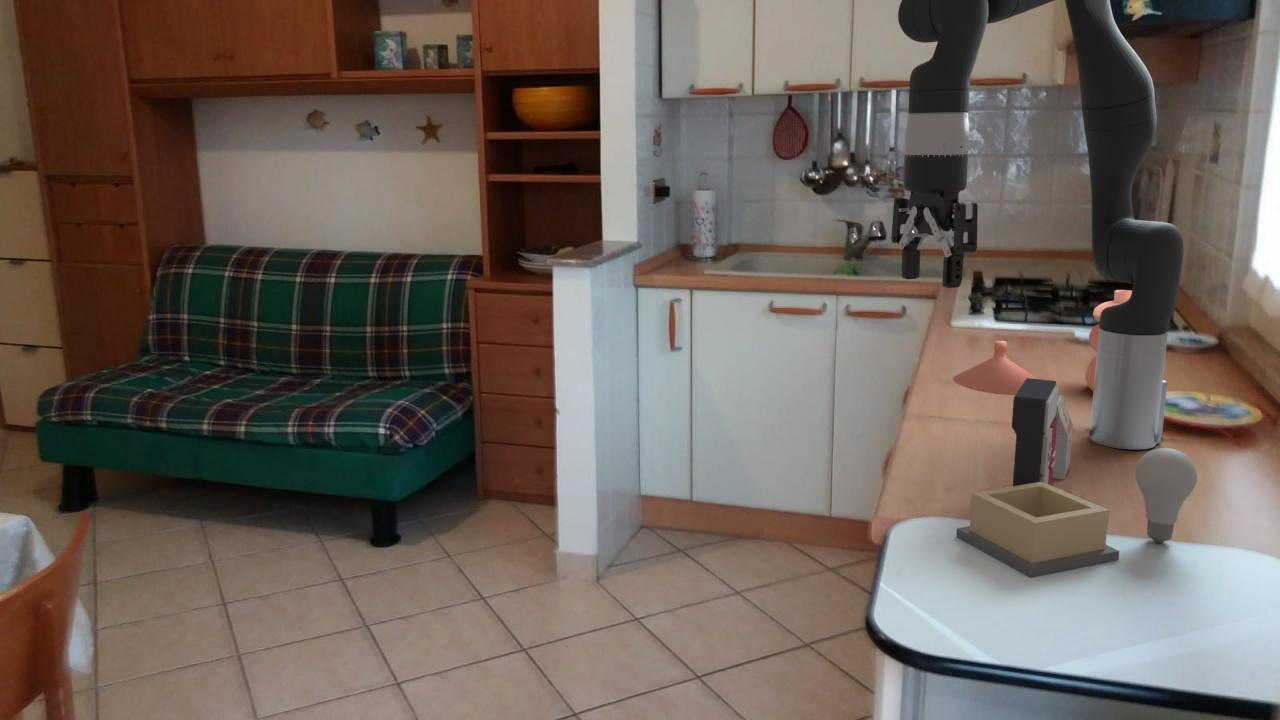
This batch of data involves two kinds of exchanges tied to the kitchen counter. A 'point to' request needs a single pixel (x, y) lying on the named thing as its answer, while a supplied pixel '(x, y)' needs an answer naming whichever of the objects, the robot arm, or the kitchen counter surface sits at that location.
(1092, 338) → the ceramic vessels
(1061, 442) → the grey block
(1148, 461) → the lightbulb
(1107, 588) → the kitchen counter surface
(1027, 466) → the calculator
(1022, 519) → the bulb holder
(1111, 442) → the robot arm
